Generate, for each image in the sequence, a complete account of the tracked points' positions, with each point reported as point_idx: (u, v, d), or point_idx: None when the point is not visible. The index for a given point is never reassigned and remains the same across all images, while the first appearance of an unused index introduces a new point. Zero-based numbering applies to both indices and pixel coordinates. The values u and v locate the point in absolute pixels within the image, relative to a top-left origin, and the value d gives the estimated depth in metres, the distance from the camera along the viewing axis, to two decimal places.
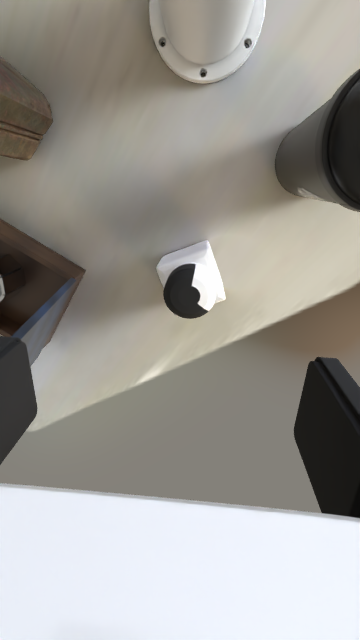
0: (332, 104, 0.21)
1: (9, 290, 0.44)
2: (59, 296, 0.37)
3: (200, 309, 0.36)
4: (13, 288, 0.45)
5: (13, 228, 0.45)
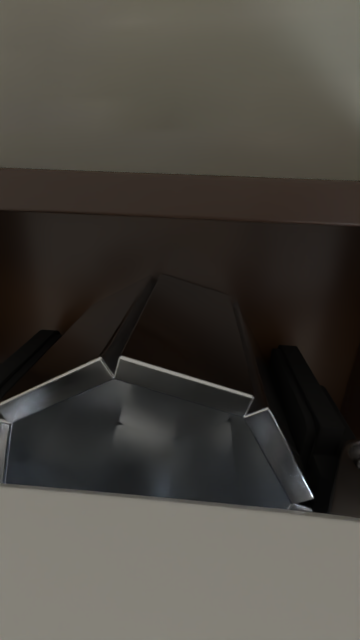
0: None
1: None
2: None
3: None
4: None
5: None
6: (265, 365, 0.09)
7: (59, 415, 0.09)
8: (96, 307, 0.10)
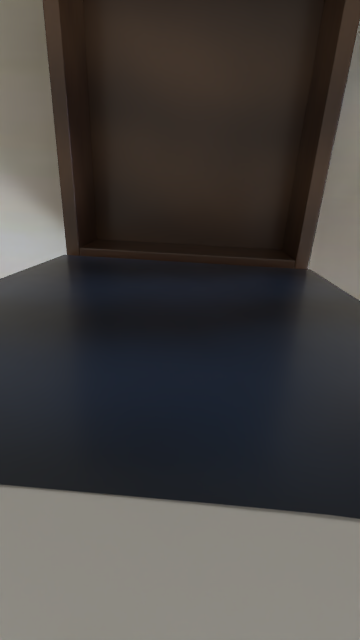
0: None
1: None
2: None
3: None
4: None
5: None
6: None
7: None
8: None
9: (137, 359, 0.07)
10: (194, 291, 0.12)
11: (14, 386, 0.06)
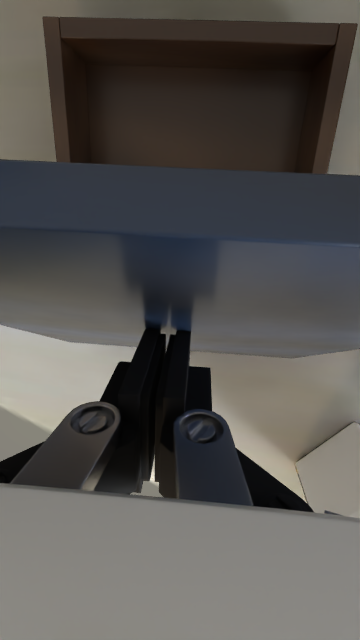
0: None
1: None
2: None
3: None
4: None
5: None
6: None
7: None
8: None
9: None
10: None
11: None
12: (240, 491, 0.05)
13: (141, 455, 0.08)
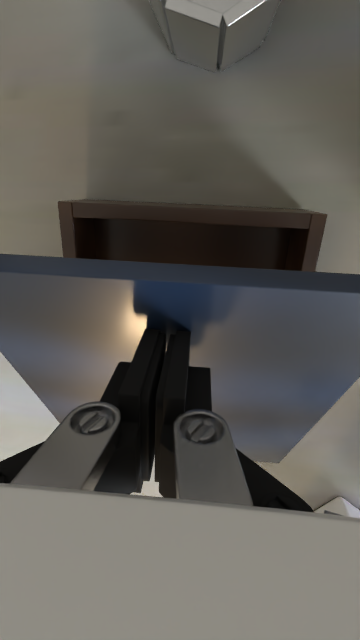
0: None
1: (231, 34, 0.14)
2: None
3: None
4: (229, 44, 0.15)
5: None
6: None
7: None
8: None
9: None
10: None
11: None
12: (240, 491, 0.05)
13: (141, 455, 0.08)
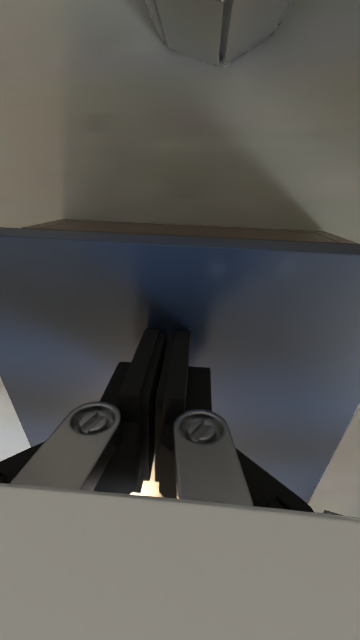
0: None
1: (239, 12, 0.10)
2: None
3: None
4: (236, 27, 0.11)
5: None
6: None
7: None
8: None
9: None
10: None
11: None
12: (240, 491, 0.05)
13: (141, 455, 0.08)
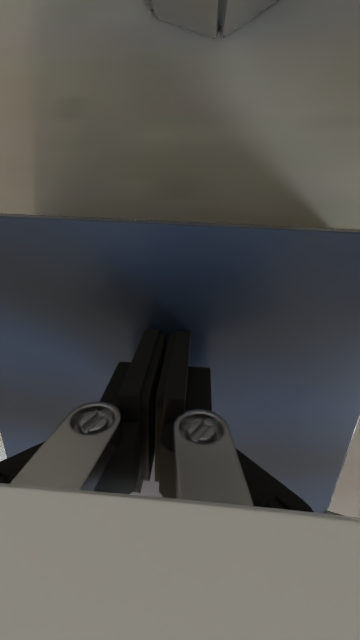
0: None
1: None
2: None
3: None
4: None
5: None
6: None
7: None
8: None
9: None
10: None
11: None
12: (240, 491, 0.05)
13: (141, 455, 0.08)
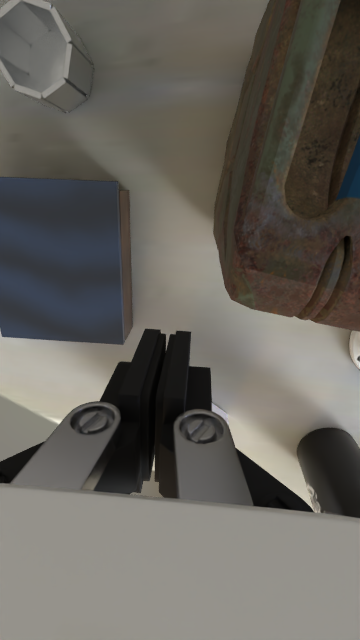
0: None
1: (52, 100, 0.28)
2: (121, 292, 0.34)
3: None
4: (56, 102, 0.29)
5: (129, 237, 0.36)
6: (83, 49, 0.29)
7: (16, 65, 0.29)
8: None
9: None
10: None
11: None
12: (240, 491, 0.05)
13: (141, 455, 0.08)
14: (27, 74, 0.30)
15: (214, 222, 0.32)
